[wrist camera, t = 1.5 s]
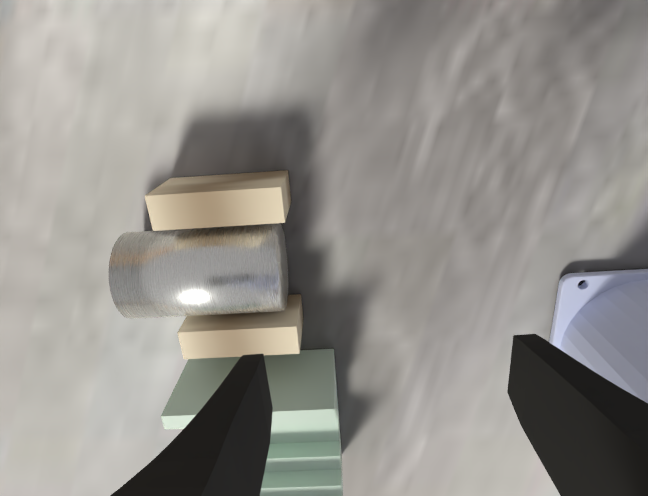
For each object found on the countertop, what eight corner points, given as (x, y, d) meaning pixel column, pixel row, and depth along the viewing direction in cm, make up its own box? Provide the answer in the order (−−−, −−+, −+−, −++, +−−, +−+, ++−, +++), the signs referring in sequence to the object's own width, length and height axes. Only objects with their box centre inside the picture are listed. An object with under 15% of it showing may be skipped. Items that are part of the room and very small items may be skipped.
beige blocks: (287, 170, 20) (280, 187, 17) (303, 318, 23) (299, 353, 20) (170, 177, 20) (144, 195, 17) (201, 324, 23) (183, 359, 20)
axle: (282, 211, 21) (271, 243, 17) (290, 284, 22) (282, 328, 18) (139, 220, 21) (98, 253, 17) (158, 292, 22) (124, 336, 19)
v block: (333, 348, 24) (334, 409, 19) (341, 455, 27) (343, 526, 22) (190, 355, 24) (160, 416, 20) (214, 459, 27) (193, 531, 23)
